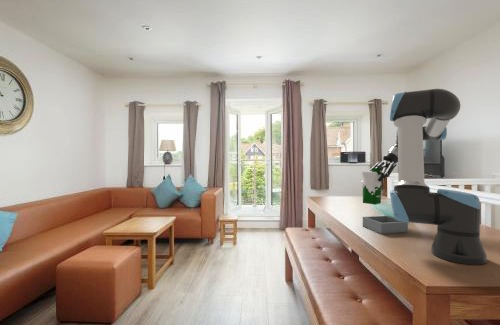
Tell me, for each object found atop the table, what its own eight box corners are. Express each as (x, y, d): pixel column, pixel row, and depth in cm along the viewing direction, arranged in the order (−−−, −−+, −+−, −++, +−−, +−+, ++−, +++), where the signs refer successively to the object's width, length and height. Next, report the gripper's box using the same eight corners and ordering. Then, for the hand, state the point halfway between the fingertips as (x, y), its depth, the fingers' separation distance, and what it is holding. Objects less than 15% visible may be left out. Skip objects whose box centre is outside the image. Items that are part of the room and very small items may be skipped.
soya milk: (376, 205, 138) (376, 168, 138) (360, 202, 145) (360, 168, 145) (383, 203, 143) (383, 168, 143) (367, 201, 150) (367, 167, 150)
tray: (407, 232, 119) (407, 222, 119) (381, 234, 117) (381, 223, 117) (386, 225, 133) (386, 215, 133) (362, 226, 131) (362, 216, 131)
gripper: (412, 160, 136) (386, 190, 133) (383, 161, 158) (360, 186, 155) (403, 150, 135) (377, 180, 132) (376, 152, 157) (352, 178, 154)
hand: (368, 184), depth 144 cm, fingers closed on soya milk, 9 cm apart
